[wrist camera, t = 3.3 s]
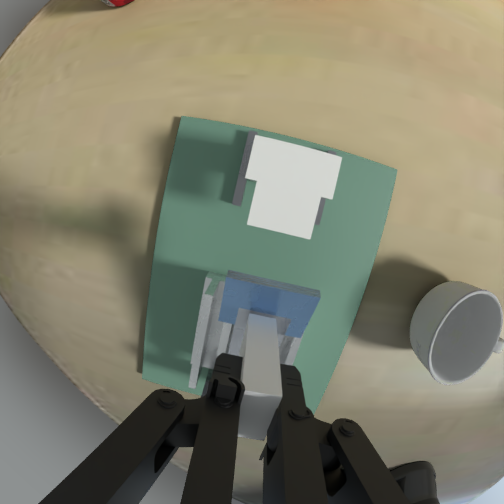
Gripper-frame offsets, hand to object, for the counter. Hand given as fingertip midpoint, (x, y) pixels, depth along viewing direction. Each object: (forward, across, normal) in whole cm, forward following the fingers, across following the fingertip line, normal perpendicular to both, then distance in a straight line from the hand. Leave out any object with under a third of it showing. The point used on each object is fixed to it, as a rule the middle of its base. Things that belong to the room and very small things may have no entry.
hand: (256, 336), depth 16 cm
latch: (+13, 0, -8) cm, 16 cm away
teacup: (+14, -24, +1) cm, 28 cm away
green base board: (+14, 0, +2) cm, 14 cm away
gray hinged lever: (+4, 0, +5) cm, 6 cm away
